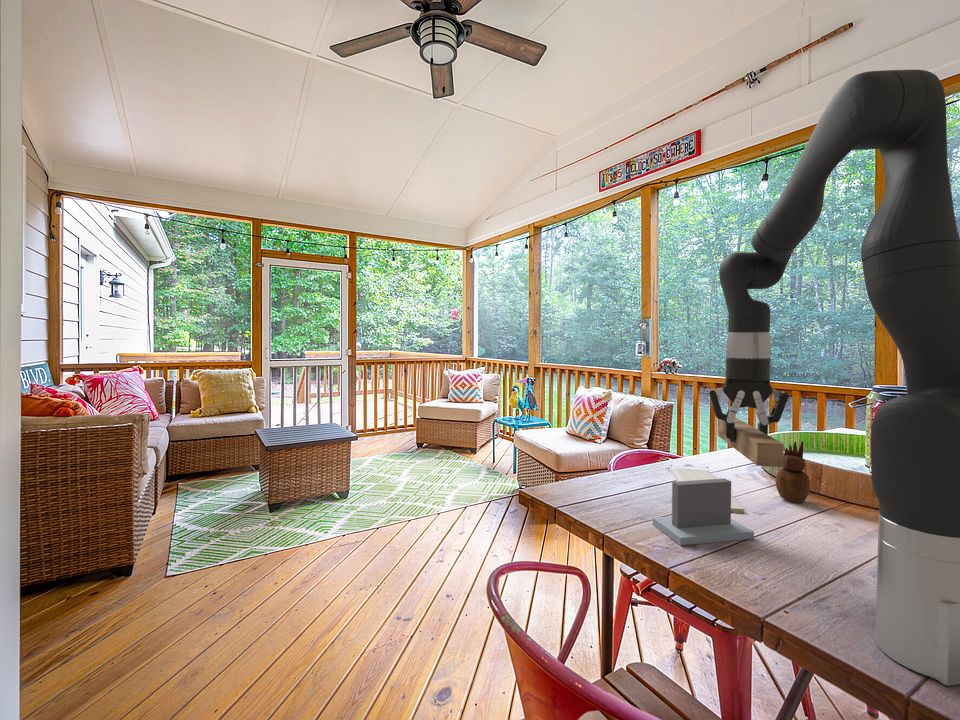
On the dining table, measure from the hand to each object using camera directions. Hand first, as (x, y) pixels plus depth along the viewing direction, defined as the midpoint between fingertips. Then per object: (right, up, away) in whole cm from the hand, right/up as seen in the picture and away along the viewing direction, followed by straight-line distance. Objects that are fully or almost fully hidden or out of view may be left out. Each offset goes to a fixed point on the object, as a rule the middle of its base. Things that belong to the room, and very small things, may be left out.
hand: (745, 441), depth 89 cm
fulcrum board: (-7, -19, +5) cm, 21 cm away
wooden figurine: (+24, -19, +22) cm, 37 cm away
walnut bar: (0, -1, 0) cm, 2 cm away
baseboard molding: (+6, -19, +31) cm, 36 cm away
